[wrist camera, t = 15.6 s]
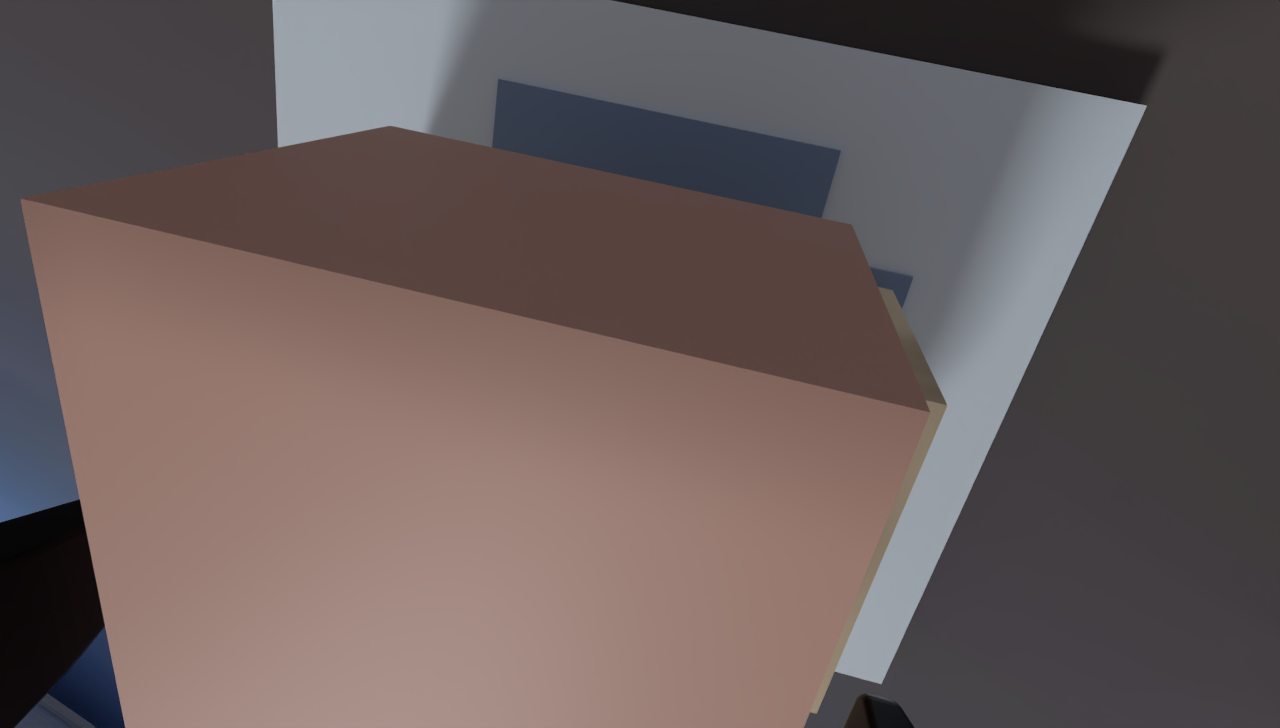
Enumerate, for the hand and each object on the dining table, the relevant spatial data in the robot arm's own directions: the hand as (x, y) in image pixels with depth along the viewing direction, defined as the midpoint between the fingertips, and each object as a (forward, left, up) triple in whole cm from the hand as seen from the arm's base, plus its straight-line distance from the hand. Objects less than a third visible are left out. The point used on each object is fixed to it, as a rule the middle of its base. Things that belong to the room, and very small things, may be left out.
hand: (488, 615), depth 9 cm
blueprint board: (0, 0, -9) cm, 9 cm away
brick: (0, 0, -3) cm, 3 cm away
